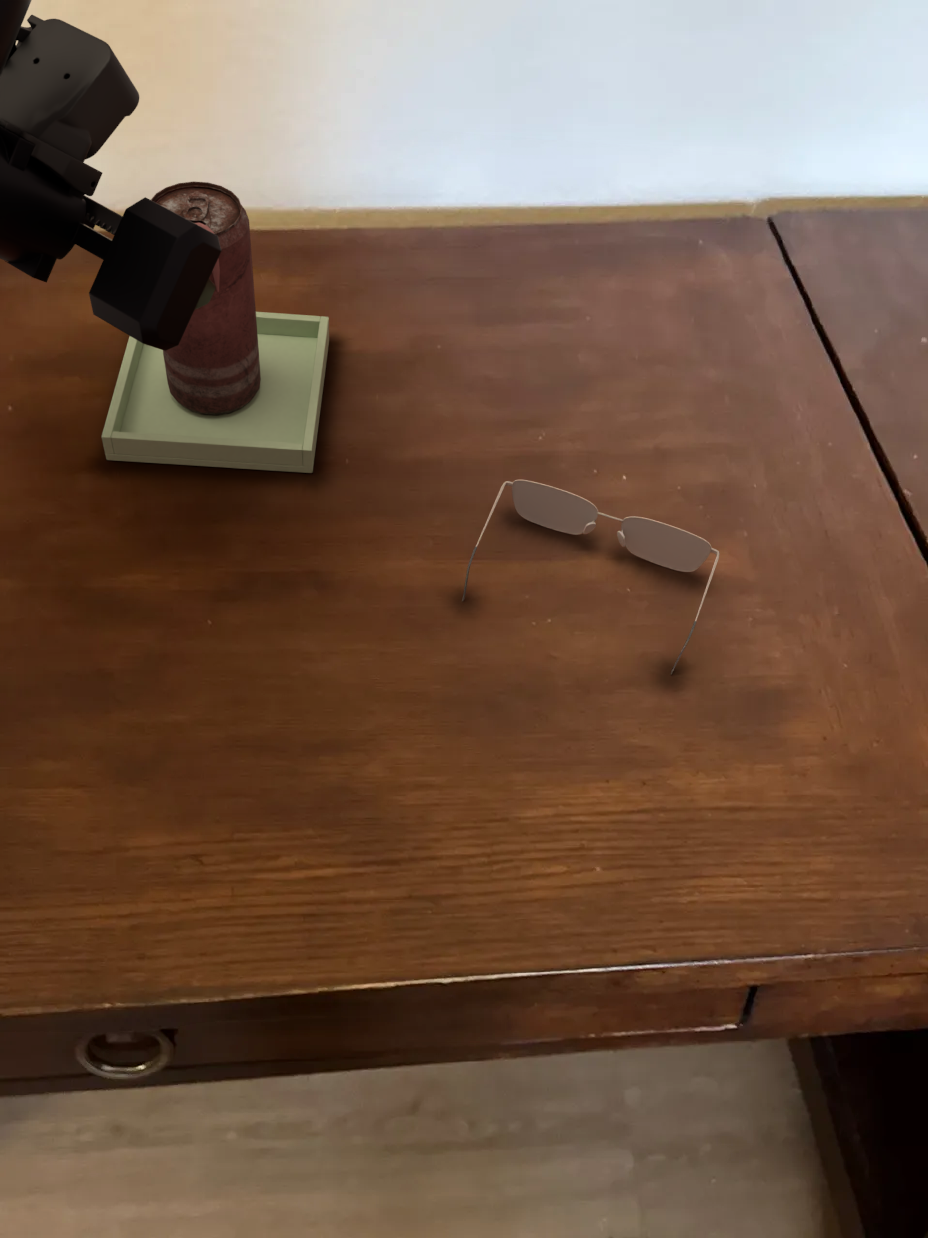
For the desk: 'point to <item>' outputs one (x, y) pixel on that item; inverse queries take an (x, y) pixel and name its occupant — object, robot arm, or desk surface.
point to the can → (217, 309)
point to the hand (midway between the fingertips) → (149, 260)
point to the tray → (247, 438)
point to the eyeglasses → (635, 534)
